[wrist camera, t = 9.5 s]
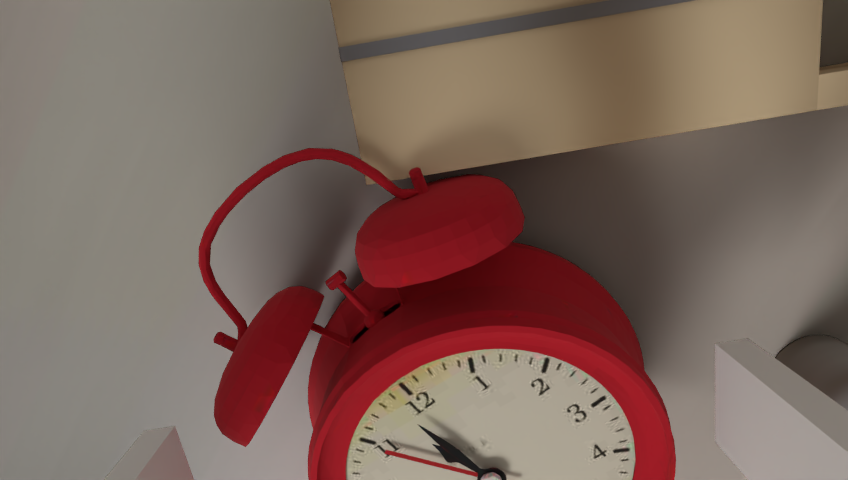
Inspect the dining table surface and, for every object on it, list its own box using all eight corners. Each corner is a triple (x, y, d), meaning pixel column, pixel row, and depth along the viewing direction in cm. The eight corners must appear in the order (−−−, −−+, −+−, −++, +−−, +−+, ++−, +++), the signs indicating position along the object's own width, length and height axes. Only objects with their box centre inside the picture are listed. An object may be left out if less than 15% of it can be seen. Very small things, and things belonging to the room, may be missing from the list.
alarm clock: (482, 686, 15) (-28, 501, 8) (442, 497, 21) (113, 288, 14) (788, 514, 13) (460, 77, 6) (655, 355, 19) (398, 26, 12)
